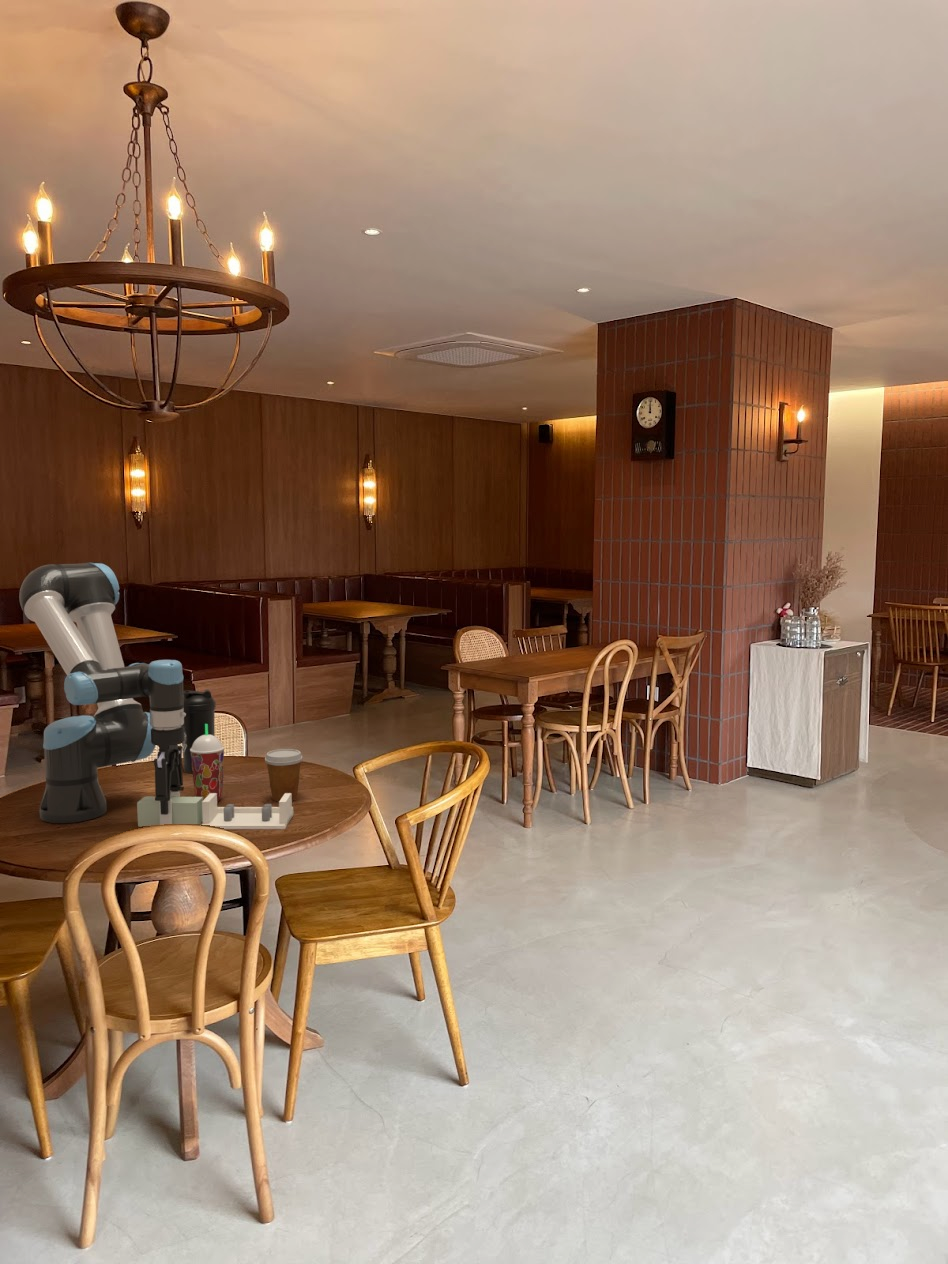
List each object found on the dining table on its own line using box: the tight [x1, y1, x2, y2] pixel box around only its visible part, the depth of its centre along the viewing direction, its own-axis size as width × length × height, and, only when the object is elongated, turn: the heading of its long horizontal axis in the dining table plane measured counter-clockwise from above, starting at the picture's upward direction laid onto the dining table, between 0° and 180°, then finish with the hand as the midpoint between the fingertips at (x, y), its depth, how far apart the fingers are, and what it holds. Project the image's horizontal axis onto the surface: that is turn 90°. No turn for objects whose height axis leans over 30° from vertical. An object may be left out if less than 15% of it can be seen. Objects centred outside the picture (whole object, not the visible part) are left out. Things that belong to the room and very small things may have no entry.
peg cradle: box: [201, 793, 294, 830], centre depth 227 cm, size 20×11×6 cm, turn 90°
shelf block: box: [136, 795, 203, 828], centre depth 226 cm, size 14×5×6 cm, turn 88°
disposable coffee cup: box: [264, 748, 303, 803], centre depth 245 cm, size 10×10×12 cm
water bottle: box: [181, 689, 216, 775], centre depth 272 cm, size 10×10×23 cm
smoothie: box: [190, 724, 225, 803], centre depth 243 cm, size 8×8×20 cm
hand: (170, 822), depth 226 cm, fingers open, 6 cm apart
